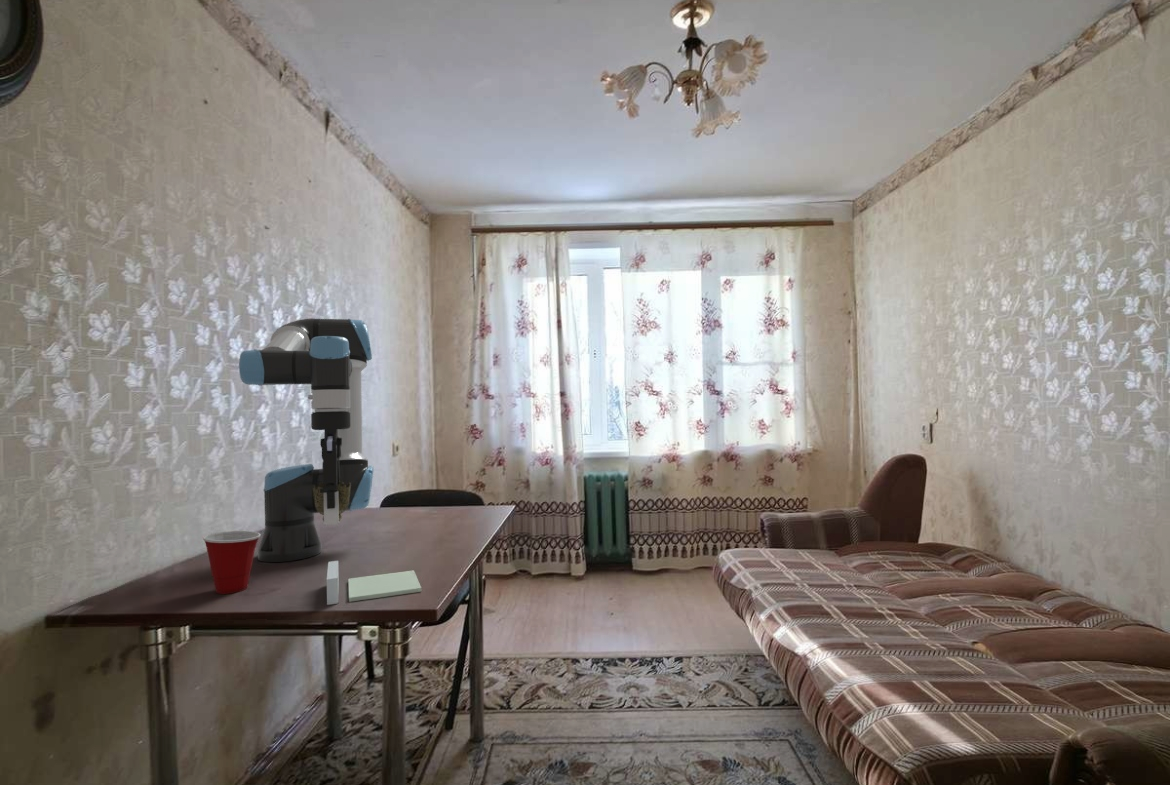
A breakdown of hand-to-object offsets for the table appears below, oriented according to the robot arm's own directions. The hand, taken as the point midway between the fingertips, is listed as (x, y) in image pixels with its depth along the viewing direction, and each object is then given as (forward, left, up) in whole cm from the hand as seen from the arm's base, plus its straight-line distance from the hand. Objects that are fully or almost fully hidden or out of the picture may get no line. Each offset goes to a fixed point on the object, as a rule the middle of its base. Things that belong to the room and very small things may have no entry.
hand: (332, 520), depth 122 cm
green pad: (0, +10, -15) cm, 18 cm away
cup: (0, 0, 0) cm, 0 cm away
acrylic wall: (0, 0, -15) cm, 15 cm away
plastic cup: (-13, -20, -15) cm, 29 cm away
